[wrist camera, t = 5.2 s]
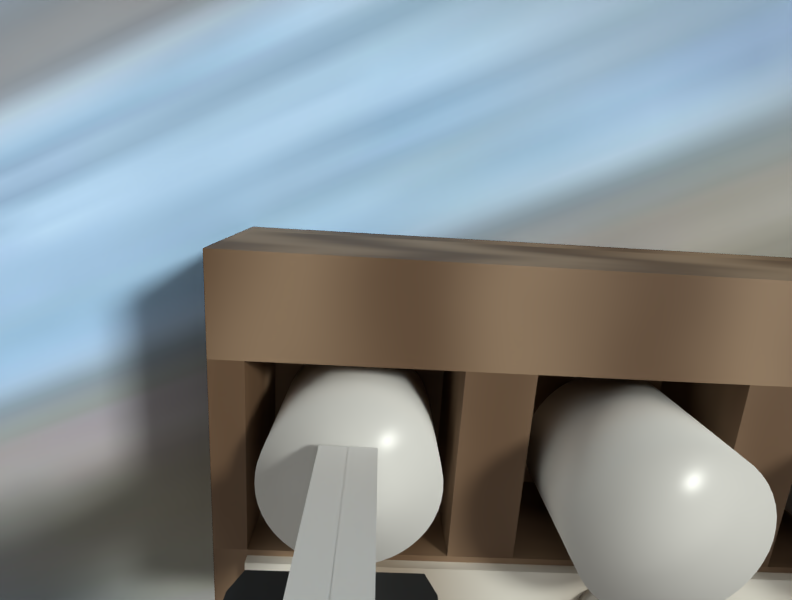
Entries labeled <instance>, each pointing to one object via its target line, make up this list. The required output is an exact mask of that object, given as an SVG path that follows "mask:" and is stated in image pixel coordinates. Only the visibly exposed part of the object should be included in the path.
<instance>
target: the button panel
mask: <svg viewBox="0 0 792 600" xmlns="http://www.w3.org/2000/svg"><path fill="white" fill-rule="evenodd" d="M203 266H204V295H205V324H206V353H207V382H208V411H209V439H210V468H211V497H212V526H213V555H214V584H215V600H223V599H224V596H225V593H226V591H227V590H228V589H229V588H230V586H231V585H232V584H233V583H234V582H235V581H236V580H237V578H238V577H239V576H240V575H241V574H242V573H243V572H244V571H245V570H266V571H290V567H291V563H292V559H293V554H294V550H293V549H292V548H290V547H289V546H288V545H286V544H285V543H284V542H282V541H281V540H280V539H279V538H278V537H277V536H276V535H275V534H274V532H273V531H272V530H271V529H270V527H269V526H268V525H267V523H266V521H265V519H264V518H263V516H262V514H261V511H260V509H259V506H258V503H257V499H256V495H255V485H254V482H255V471H256V466H257V462H258V459H259V456H260V454H261V451H262V449H263V446H264V444H265V442H266V440H267V437H268V435H269V433H270V430H271V428H272V426H273V424H274V421H275V419H276V417H277V414H278V412H279V410H280V408H281V405H282V403H283V401H284V398H285V396H286V394H287V391H288V389H289V387H290V385H291V383H292V381H293V379H294V377H295V375H296V374H297V373H298V371H299V370H300V369H301V368H302V367H303V366H304V365H305V364H317V365H338V366H359V367H380V368H401V369H414V370H415V372H416V373H417V374H418V376H419V377H420V379H421V380H422V382H423V385H424V387H425V389H426V393H427V396H428V401H429V406H430V411H431V416H432V421H433V426H434V431H435V436H436V442H437V447H438V452H439V457H440V462H441V467H442V474H443V494H442V499H441V503H440V506H439V509H438V512H437V514H436V516H435V518H434V520H433V522H432V523H431V525H430V526H429V528H428V529H427V531H426V532H425V533H424V534H423V535H422V536H421V537H420V538H419V539H418V540H417V541H416V542H415V543H414V544H413V545H411V546H410V547H408V548H407V549H405V550H404V551H402V552H401V553H399V554H397V555H395V556H393V557H391V558H388V559H385V560H383V561H379V562H376V572H388V573H421V574H425V575H426V577H427V579H428V580H429V582H430V584H431V585H432V587H433V589H434V590H435V592H436V594H437V595H438V600H599V599H598V598H596V597H595V596H594V595H593V594H592V593H591V592H590V591H589V589H588V588H587V587H586V586H585V585H584V583H583V581H582V580H581V578H580V576H579V574H578V572H577V570H576V568H575V566H574V564H573V562H572V560H571V558H570V556H569V554H568V552H567V549H566V547H565V545H564V543H563V541H562V539H561V537H560V535H559V533H558V531H557V529H556V527H555V525H554V523H553V520H552V518H551V516H550V514H549V512H548V510H547V508H546V506H545V504H544V502H543V500H542V498H541V496H540V494H539V491H538V489H537V487H536V485H535V483H534V481H533V479H532V477H531V475H530V472H529V470H528V467H527V464H526V459H527V452H528V444H529V437H530V430H531V423H532V417H533V415H534V413H535V412H536V410H537V409H538V408H539V406H540V405H541V404H542V402H543V401H544V400H545V399H546V398H547V397H548V396H549V395H550V394H552V393H553V392H554V391H555V390H556V389H558V388H559V387H561V386H562V385H564V384H566V383H568V382H569V381H571V380H573V379H576V378H579V377H590V378H611V379H632V380H645V381H647V382H649V383H650V384H652V385H653V386H654V387H655V388H657V389H658V390H659V391H661V392H662V393H663V394H664V395H666V396H667V397H668V398H669V399H671V400H672V401H673V402H674V403H676V404H677V405H678V406H679V407H681V408H682V409H683V410H684V411H686V412H687V413H688V414H689V415H691V416H692V417H693V418H694V419H696V420H697V421H698V422H699V423H701V424H702V425H703V426H704V427H706V428H707V429H708V430H709V431H711V432H712V433H713V434H714V435H716V436H717V437H718V438H719V439H721V440H722V441H723V442H725V443H726V444H727V445H728V446H730V447H731V448H732V449H733V450H735V451H736V452H737V453H738V454H740V455H741V456H742V457H743V458H745V459H746V460H747V461H748V462H750V463H751V464H752V465H753V466H754V467H755V468H756V469H757V470H758V471H759V472H760V473H761V474H762V475H763V477H764V478H765V480H766V481H767V483H768V484H769V487H770V489H771V491H772V493H773V496H774V500H775V504H776V513H777V522H776V531H775V535H774V540H773V542H772V545H771V548H770V551H769V553H768V554H767V556H766V558H765V560H764V562H763V563H762V565H761V566H760V568H759V569H758V571H757V572H756V573H755V574H754V575H753V577H752V578H751V579H750V580H749V581H748V582H747V583H746V584H745V585H744V586H743V587H741V588H740V589H739V590H738V591H737V592H735V593H734V594H733V595H731V596H730V597H728V598H727V599H725V600H792V515H791V514H790V513H789V512H788V511H786V510H785V505H786V502H787V498H788V495H789V492H790V488H791V485H792V258H785V257H767V256H750V255H733V254H715V253H698V252H680V251H663V250H646V249H628V248H611V247H594V246H576V245H559V244H542V243H524V242H507V241H489V240H472V239H455V238H437V237H420V236H403V235H385V234H368V233H350V232H333V231H316V230H298V229H281V228H264V227H251V228H249V229H246V230H244V231H242V232H239V233H237V234H235V235H232V236H230V237H228V238H225V239H223V240H221V241H218V242H216V243H214V244H211V245H209V246H207V247H204V248H203Z"/></svg>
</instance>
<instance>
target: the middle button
mask: <svg viewBox="0 0 792 600" xmlns="http://www.w3.org/2000/svg"><path fill="white" fill-rule="evenodd" d="M526 464H527V467H528V470H529V472H530V475H531V477H532V479H533V481H534V483H535V485H536V487H537V489H538V491H539V494H540V496H541V498H542V500H543V502H544V504H545V506H546V508H547V510H548V512H549V514H550V516H551V518H552V520H553V523H554V525H555V527H556V529H557V531H558V533H559V535H560V537H561V539H562V541H563V543H564V545H565V547H566V549H567V552H568V554H569V556H570V558H571V560H572V562H573V564H574V566H575V568H576V570H577V572H578V574H579V576H580V578H581V580H582V581H583V583H584V585H585V586H586V587H587V588H588V589H589V591H590V592H591V593H592V594H593V595H594V596H595V597H596V598H598V599H599V600H725V599H727V598H728V597H730V596H731V595H733V594H734V593H735V592H737V591H738V590H739V589H740V588H741V587H743V586H744V585H745V584H746V583H747V582H748V581H749V580H750V579H751V578H752V577H753V575H754V574H755V573H756V572H757V571H758V569H759V568H760V566H761V565H762V563H763V562H764V560H765V558H766V556H767V554H768V553H769V551H770V548H771V545H772V542H773V540H774V535H775V531H776V522H777V513H776V504H775V500H774V496H773V493H772V491H771V489H770V487H769V484H768V483H767V481H766V480H765V478H764V477H763V475H762V474H761V473H760V472H759V471H758V470H757V469H756V468H755V467H754V466H753V465H752V464H751V463H750V462H748V461H747V460H746V459H745V458H743V457H742V456H741V455H740V454H738V453H737V452H736V451H735V450H733V449H732V448H731V447H730V446H728V445H727V444H726V443H725V442H723V441H722V440H721V439H719V438H718V437H717V436H716V435H714V434H713V433H712V432H711V431H709V430H708V429H707V428H706V427H704V426H703V425H702V424H701V423H699V422H698V421H697V420H696V419H694V418H693V417H692V416H691V415H689V414H688V413H687V412H686V411H684V410H683V409H682V408H681V407H679V406H678V405H677V404H676V403H674V402H673V401H672V400H671V399H669V398H668V397H667V396H666V395H664V394H663V393H662V392H661V391H659V390H658V389H657V388H655V387H654V386H653V385H652V384H650V383H649V382H647V381H645V380H632V379H611V378H590V377H579V378H576V379H573V380H571V381H569V382H568V383H566V384H564V385H562V386H561V387H559V388H558V389H556V390H555V391H554V392H553V393H552V394H550V395H549V396H548V397H547V398H546V399H545V400H544V401H543V402H542V404H541V405H540V406H539V408H538V409H537V410H536V412H535V413H534V415H533V417H532V423H531V430H530V437H529V444H528V452H527V459H526Z"/></svg>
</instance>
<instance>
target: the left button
mask: <svg viewBox="0 0 792 600" xmlns="http://www.w3.org/2000/svg"><path fill="white" fill-rule="evenodd" d="M319 445H323V446H348V447H373V448H378V464H377V520H376V562H379V561H383V560H385V559H388V558H391V557H393V556H395V555H397V554H399V553H401V552H402V551H404V550H405V549H407V548H408V547H410V546H411V545H413V544H414V543H415V542H416V541H417V540H418V539H419V538H420V537H421V536H422V535H423V534H424V533H425V532H426V531H427V529H428V528H429V526H430V525H431V523H432V522H433V520H434V518H435V516H436V514H437V512H438V509H439V506H440V503H441V499H442V494H443V474H442V467H441V462H440V457H439V452H438V447H437V442H436V436H435V431H434V426H433V421H432V416H431V411H430V406H429V401H428V396H427V393H426V389H425V387H424V385H423V382H422V380H421V379H420V377H419V376H418V374H417V373H416V372H415V370H414V369H401V368H380V367H359V366H338V365H317V364H305V365H304V366H303V367H302V368H301V369H300V370H299V371H298V373H297V374H296V375H295V377H294V379H293V381H292V383H291V385H290V387H289V389H288V391H287V394H286V396H285V398H284V401H283V403H282V405H281V408H280V410H279V412H278V414H277V417H276V419H275V421H274V424H273V426H272V428H271V430H270V433H269V435H268V437H267V440H266V442H265V444H264V446H263V449H262V451H261V454H260V456H259V459H258V462H257V466H256V471H255V482H254V485H255V495H256V499H257V503H258V506H259V509H260V511H261V514H262V516H263V518H264V519H265V521H266V523H267V525H268V526H269V527H270V529H271V530H272V531H273V532H274V534H275V535H276V536H277V537H278V538H279V539H280V540H281V541H282V542H284V543H285V544H286V545H288V546H289V547H290V548H292V549H293V550H295V546H296V541H297V537H298V533H299V528H300V524H301V520H302V516H303V511H304V507H305V503H306V498H307V494H308V490H309V485H310V481H311V477H312V472H313V468H314V464H315V459H316V455H317V451H318V447H319Z"/></svg>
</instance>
